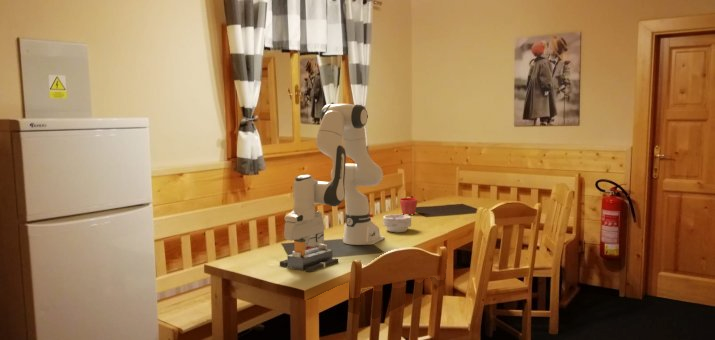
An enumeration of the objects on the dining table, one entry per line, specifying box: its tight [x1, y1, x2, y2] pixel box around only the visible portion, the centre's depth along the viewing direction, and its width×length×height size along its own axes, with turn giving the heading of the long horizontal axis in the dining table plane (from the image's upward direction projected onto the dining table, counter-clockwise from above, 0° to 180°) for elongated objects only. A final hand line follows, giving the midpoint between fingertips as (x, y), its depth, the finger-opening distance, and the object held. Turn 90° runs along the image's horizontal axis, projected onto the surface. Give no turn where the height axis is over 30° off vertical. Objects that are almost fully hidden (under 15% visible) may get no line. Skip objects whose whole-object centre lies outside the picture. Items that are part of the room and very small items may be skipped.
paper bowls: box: [382, 214, 412, 233], centre depth 295 cm, size 15×15×8 cm
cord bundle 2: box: [305, 258, 339, 273], centre depth 227 cm, size 18×2×2 cm, turn 141°
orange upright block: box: [293, 239, 306, 256], centre depth 226 cm, size 2×5×6 cm, turn 51°
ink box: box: [305, 229, 325, 250], centre depth 255 cm, size 8×5×12 cm, turn 152°
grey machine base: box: [286, 243, 333, 272], centre depth 231 cm, size 18×9×7 cm, turn 141°
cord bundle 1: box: [279, 258, 288, 268], centre depth 236 cm, size 18×4×2 cm, turn 141°
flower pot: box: [399, 197, 418, 215], centre depth 341 cm, size 11×11×10 cm
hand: (305, 246), depth 228 cm, fingers closed
